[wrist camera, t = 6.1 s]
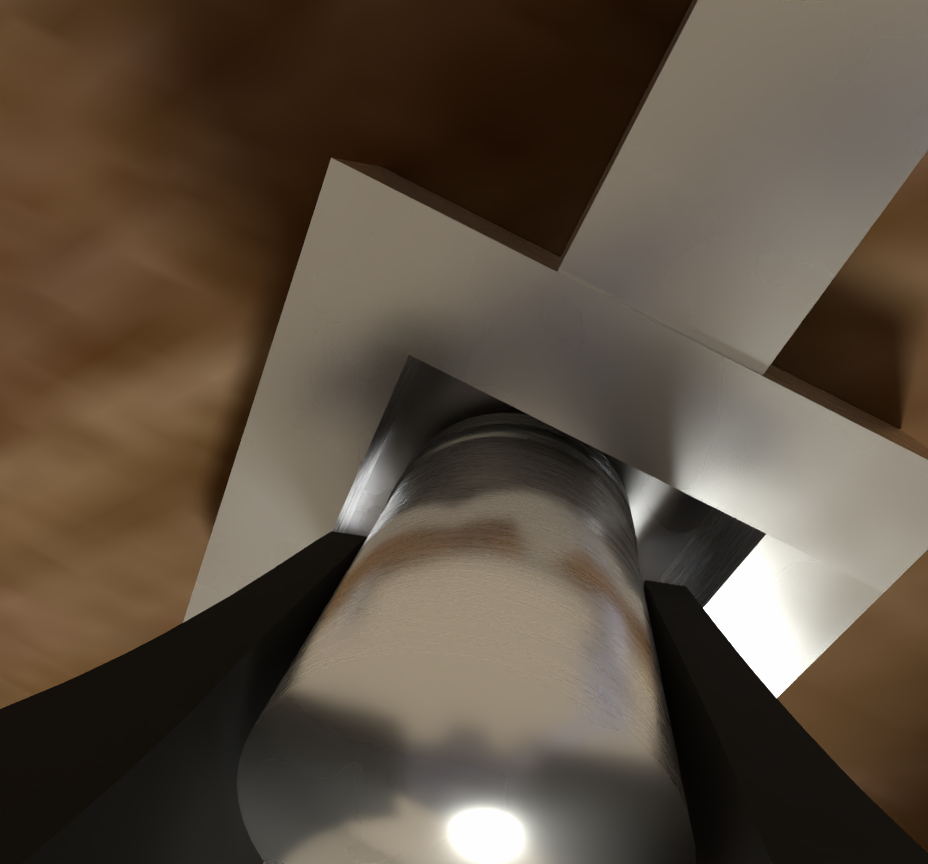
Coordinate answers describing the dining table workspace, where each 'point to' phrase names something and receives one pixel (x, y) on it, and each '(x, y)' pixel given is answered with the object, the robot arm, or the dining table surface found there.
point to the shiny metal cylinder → (478, 677)
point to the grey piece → (628, 333)
